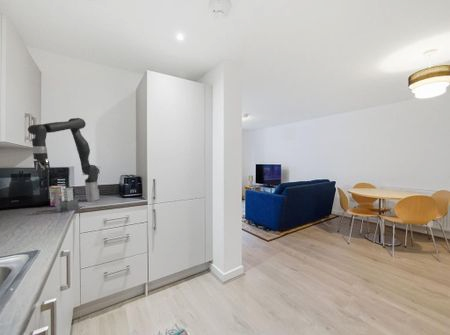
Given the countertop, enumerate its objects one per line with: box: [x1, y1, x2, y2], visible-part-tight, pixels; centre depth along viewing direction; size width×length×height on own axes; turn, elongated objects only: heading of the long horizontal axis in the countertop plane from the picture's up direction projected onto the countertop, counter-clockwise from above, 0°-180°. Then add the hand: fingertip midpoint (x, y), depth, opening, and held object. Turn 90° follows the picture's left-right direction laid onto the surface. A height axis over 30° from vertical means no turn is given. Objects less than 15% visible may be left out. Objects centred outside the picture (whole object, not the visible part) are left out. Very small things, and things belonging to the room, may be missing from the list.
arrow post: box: [54, 191, 62, 214], centre depth 146 cm, size 4×2×16 cm, turn 160°
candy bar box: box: [48, 185, 67, 207], centre depth 164 cm, size 11×5×16 cm, turn 84°
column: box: [63, 186, 74, 202], centre depth 152 cm, size 5×4×16 cm
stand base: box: [53, 198, 86, 214], centre depth 153 cm, size 14×14×7 cm
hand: (42, 174), depth 143 cm, fingers open, 8 cm apart
